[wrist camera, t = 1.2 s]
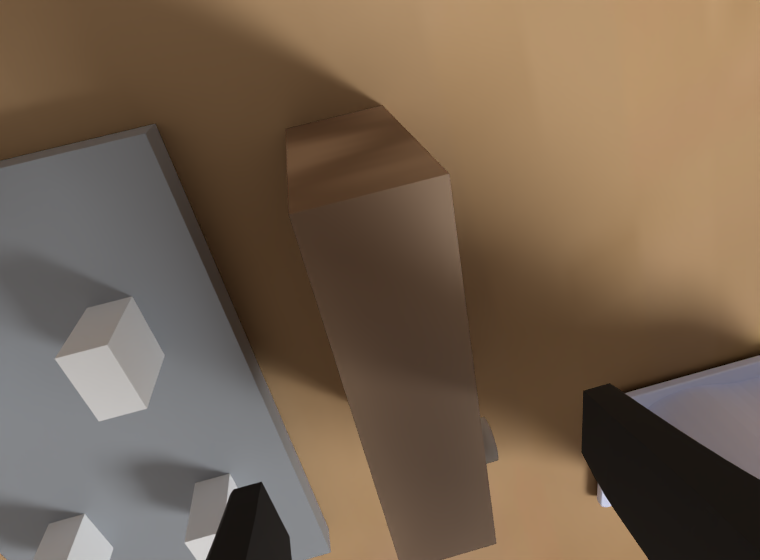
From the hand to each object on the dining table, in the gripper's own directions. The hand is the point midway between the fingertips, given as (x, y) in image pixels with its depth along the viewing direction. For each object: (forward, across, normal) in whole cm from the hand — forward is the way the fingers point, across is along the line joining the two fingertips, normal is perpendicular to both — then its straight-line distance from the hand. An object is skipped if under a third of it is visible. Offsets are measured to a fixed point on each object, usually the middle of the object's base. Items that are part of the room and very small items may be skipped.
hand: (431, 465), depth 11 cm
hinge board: (+8, +11, +3) cm, 14 cm away
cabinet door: (+8, 0, 0) cm, 8 cm away
